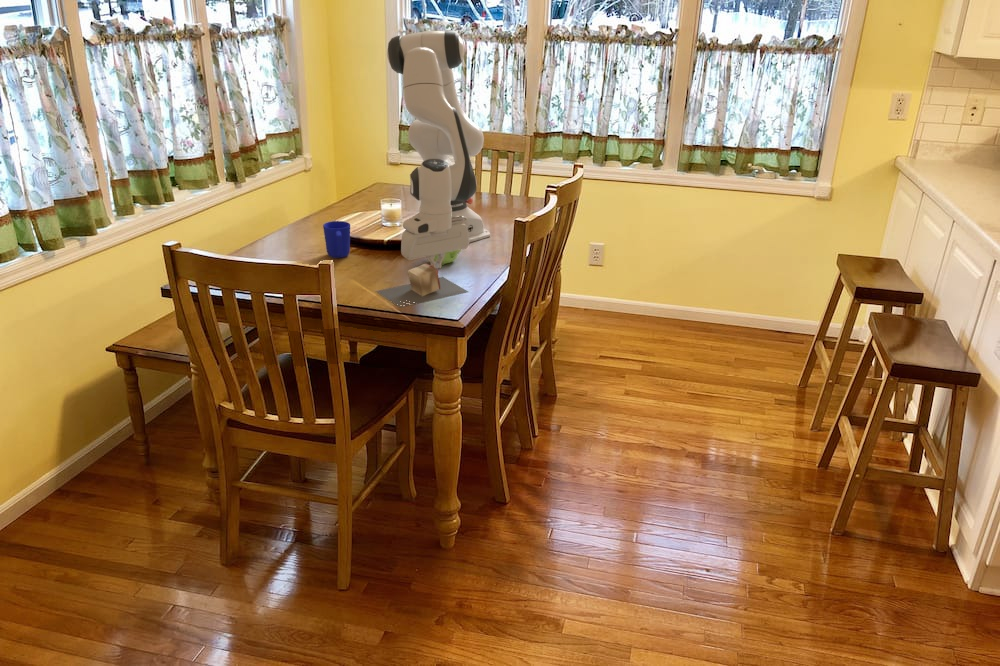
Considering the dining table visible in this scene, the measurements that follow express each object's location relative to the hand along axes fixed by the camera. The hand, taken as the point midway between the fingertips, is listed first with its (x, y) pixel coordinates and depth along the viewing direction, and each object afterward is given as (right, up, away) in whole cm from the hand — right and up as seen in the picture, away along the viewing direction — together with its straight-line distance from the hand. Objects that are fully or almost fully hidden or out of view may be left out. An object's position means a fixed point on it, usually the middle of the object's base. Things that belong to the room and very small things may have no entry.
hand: (436, 268), depth 224 cm
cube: (-1, -2, 0) cm, 2 cm away
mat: (-4, -7, 0) cm, 8 cm away
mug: (-32, +5, +25) cm, 41 cm away
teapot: (0, +3, +23) cm, 24 cm away
